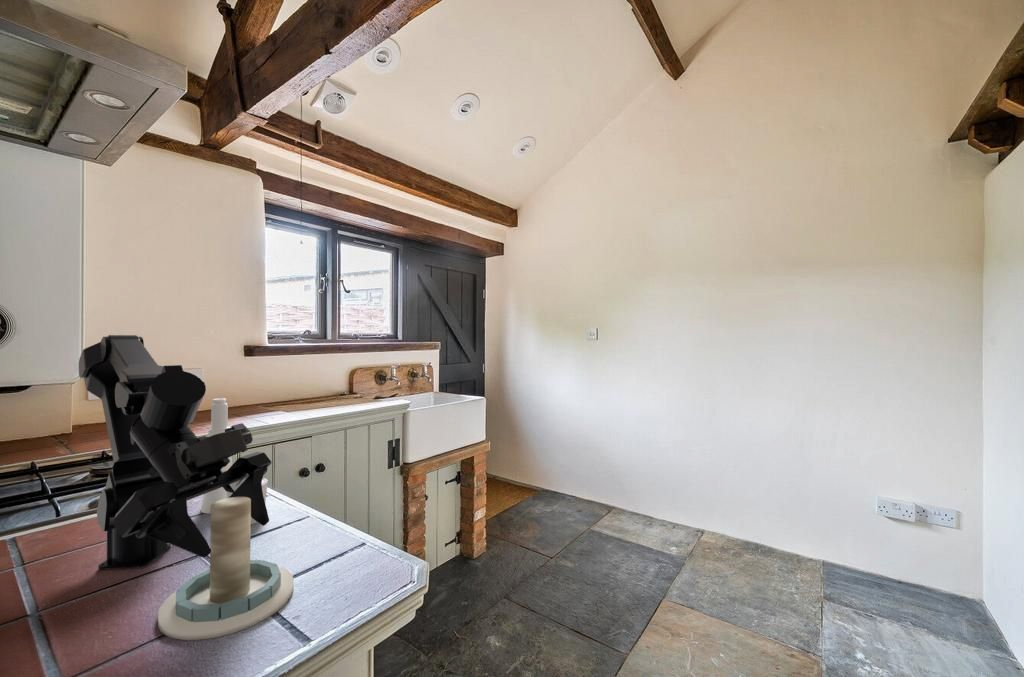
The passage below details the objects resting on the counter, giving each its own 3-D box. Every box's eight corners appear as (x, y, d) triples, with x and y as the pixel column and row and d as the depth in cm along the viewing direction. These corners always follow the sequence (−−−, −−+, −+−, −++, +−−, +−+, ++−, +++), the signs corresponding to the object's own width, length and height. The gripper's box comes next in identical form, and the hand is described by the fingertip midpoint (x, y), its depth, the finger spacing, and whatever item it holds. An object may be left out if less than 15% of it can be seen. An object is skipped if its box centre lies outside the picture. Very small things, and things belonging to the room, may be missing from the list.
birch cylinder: (202, 604, 56) (203, 510, 56) (221, 584, 61) (222, 497, 61) (239, 602, 57) (240, 509, 57) (256, 583, 61) (256, 496, 61)
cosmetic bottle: (239, 501, 93) (240, 396, 93) (232, 511, 88) (233, 400, 88) (205, 504, 91) (206, 397, 91) (196, 515, 86) (197, 401, 85)
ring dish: (126, 644, 51) (126, 622, 51) (202, 573, 65) (202, 556, 65) (265, 635, 52) (265, 614, 52) (308, 568, 67) (308, 552, 67)
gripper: (133, 421, 50) (212, 530, 48) (261, 398, 69) (323, 476, 66) (81, 484, 52) (154, 591, 50) (219, 446, 71) (278, 523, 68)
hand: (239, 537), depth 58 cm, fingers open, 9 cm apart
